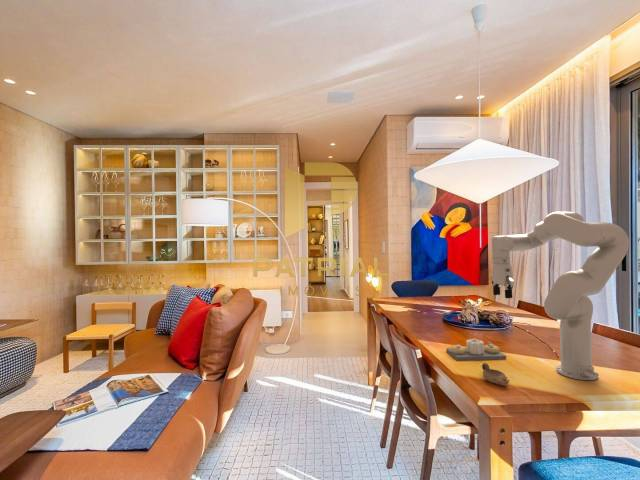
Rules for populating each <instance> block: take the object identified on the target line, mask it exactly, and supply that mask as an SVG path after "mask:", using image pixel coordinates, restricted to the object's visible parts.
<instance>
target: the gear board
mask: <svg viewBox="0 0 640 480" xmlns="http://www.w3.org/2000/svg"><path fill="white" fill-rule="evenodd" d="M472 339H473V342H477V340H478V339H477V338H472ZM446 352H447V353H448V354H449V355H450V356H451V357H452V358H453V359H454V360H456V361H458V362H459V360H460V361H489V360H490V361H492V360H507V355H506V354H504V353H503V352H501V351H500V347H499V346H497V345H494V343H491V341H490V340H488V341H487V344H484V354H471V353H469V352H467V347H465V346H462V345H461V344H456V345H453V346H452V345H451V347H447V348H446Z"/></svg>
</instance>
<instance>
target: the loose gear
mask: <svg viewBox="0 0 640 480" xmlns="http://www.w3.org/2000/svg"><path fill="white" fill-rule="evenodd" d="M484 346H485V343H484V341H483V340H480V339H477V342H473V338H472V339H471V338H470V339H466V348H467V352H469V353H471V354H484Z"/></svg>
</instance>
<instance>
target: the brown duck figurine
mask: <svg viewBox="0 0 640 480" xmlns="http://www.w3.org/2000/svg"><path fill="white" fill-rule="evenodd" d="M481 368H482V375H483V378H484V380H486V381H487V382H489V383H493V384H495V385H498V386H503V387H504V386H507V385H508V384H509V383H510V379H507V378H508V376H506V374H505V373H504V372H502V371H500V370H497V369H492V368H490V366H489V364H488V363H487V362H482V364H481Z"/></svg>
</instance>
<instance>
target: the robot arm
mask: <svg viewBox="0 0 640 480" xmlns="http://www.w3.org/2000/svg"><path fill="white" fill-rule="evenodd" d="M557 239H562V240H565V242H568V243H572V244H574V245H576V246H580V247H585V248H588V247H590V248H591V247H596V249H595V250H594V251H593V252H591V253H590V255H589V256H588V257H587V258H586V260H585V261H584V263H583V265H582V266H581V267H580V269H579V268H578V269H577V270H571V271H570V270H569V271H566V272H564V273H562V274H561V275H560V276H558V278H557V279H556V280H555V282H554V283H553V286H552V287H551V289H550V290H549V292H548V294H547V295H546V297H545V300H544V303H543V308H544V312H545V313H546V314H547V316H548V317H550V318H551V319H554V320H560V322H559V340H560V341H559V342H560V343H559V347H560V365H557V366H556V372H557V373H559V374H560V375H562V376H564V377H567V378H571V379H575V380H581V381H594V380H597V379H598V378H599V375H600V374H599V373H598V372H596V371H595V367H594V366H593V357H592V355H593V353H592V350H593V349H592V330H591V329H592V320H593V319H592V318H593V314H594V304H593V302H592V300H591V299H590V297H589V296H594V295H597V294H599V293H600V292H601V291H603V288H604V287H605V286H606V284H607V283H608V281H609V280H610V279H611V277H612V275H614V273H615V270H616V269H617V267H618V266H619V265H620V263H621V262H622V261H623V260H624V258H625V256H626V255H627V252H628V251H629V247H630V242H629V237H628V235H627V232H626V231H625V230H624V229H623V228H622V227H621V226H620V225H618V224H615V223H611V222H604V221H603V222H585V219H584V217H583V215H581V214H580V213H578V212H574V211H553V212H551V213H549V214H547V215H546V216H545V217H544V219H543V220H542V221H540V222H538V223H536V224H535V225H534V227H533V230H532V231H531V232H527V233H525V234H524V233H523V234H507V235H494V236H492V237H491V259H492V264H491V265H492V270H491V271H492V273H491V274H492V276H491V277H490V280H491V283H492V289H493V290H492V293H493V296H500V295H501V287H500V286H503V287H504V299H513V289H514V286H515V280H514V277H513V276H514V275H513V269H512V265H511V254H510V252H518V251H520V252H521V251H528V250H533V249H536V248H538V247H541V246H544V245H545V244H547V243H548V242H551V241H553V240H557Z"/></svg>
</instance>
